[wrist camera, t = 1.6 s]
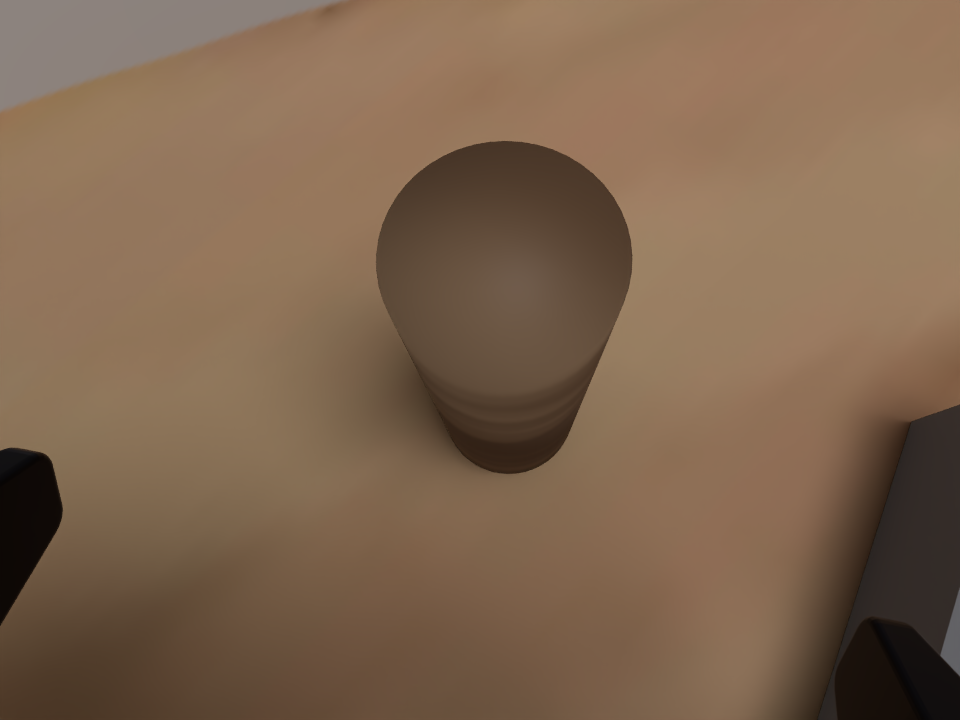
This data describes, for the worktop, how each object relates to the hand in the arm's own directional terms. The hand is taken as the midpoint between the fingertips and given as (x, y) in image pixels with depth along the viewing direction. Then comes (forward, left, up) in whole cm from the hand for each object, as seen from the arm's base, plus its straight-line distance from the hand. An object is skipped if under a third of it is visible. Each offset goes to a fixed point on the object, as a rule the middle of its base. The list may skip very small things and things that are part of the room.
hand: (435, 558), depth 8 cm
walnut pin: (+4, +1, -12) cm, 13 cm away
